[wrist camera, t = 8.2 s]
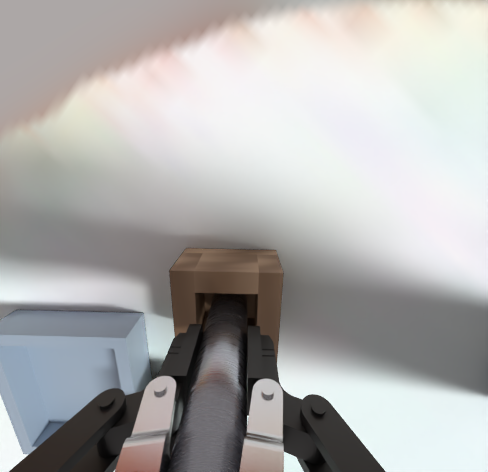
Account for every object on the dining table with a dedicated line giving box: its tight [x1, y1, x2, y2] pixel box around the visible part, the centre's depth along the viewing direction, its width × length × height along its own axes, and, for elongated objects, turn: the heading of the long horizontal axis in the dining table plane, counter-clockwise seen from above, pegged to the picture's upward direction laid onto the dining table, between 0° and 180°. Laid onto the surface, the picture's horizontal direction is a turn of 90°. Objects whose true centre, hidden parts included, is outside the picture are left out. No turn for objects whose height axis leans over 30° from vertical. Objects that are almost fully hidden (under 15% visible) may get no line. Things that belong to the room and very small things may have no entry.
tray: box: [0, 310, 152, 454], centre depth 20 cm, size 11×13×3 cm
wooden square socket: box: [169, 248, 284, 364], centre depth 17 cm, size 7×7×4 cm
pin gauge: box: [167, 293, 247, 472], centre depth 11 cm, size 3×3×12 cm
